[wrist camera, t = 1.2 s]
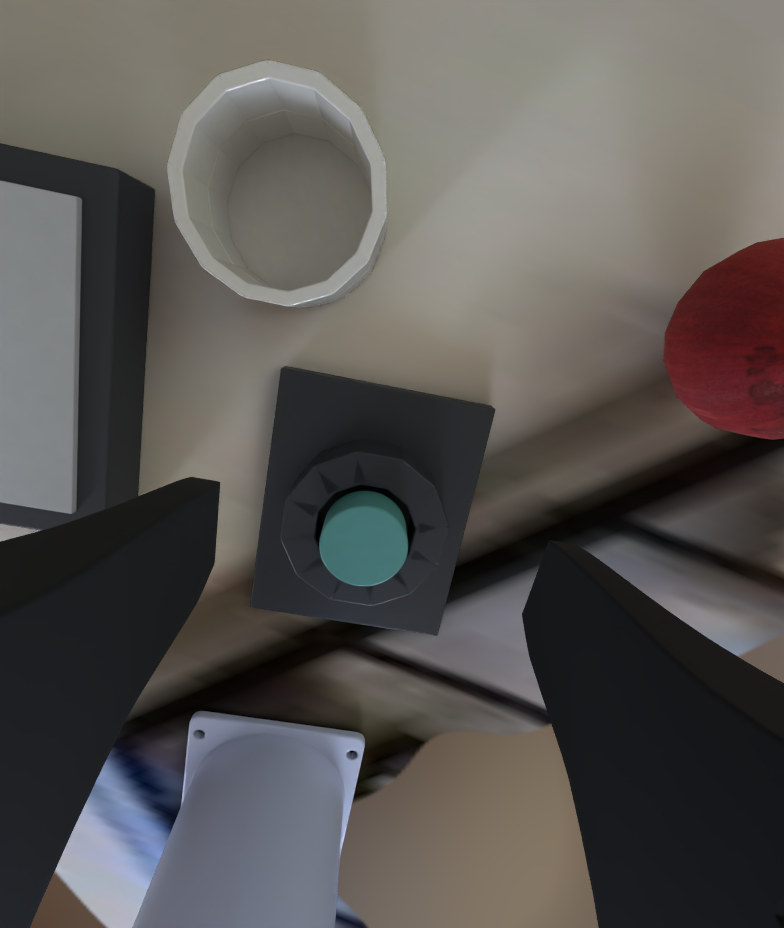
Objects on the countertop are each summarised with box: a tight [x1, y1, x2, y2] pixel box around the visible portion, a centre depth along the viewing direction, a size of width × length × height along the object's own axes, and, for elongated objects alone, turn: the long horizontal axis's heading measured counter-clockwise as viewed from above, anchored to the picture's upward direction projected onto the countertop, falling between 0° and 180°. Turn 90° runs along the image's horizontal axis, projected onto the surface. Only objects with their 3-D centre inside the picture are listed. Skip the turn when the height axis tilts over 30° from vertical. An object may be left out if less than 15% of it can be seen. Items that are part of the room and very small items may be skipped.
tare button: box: [319, 491, 408, 586], centre depth 18 cm, size 3×3×2 cm
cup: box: [167, 60, 387, 308], centre depth 15 cm, size 6×6×4 cm
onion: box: [664, 238, 784, 439], centre depth 15 cm, size 6×6×8 cm
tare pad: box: [250, 366, 495, 636], centre depth 19 cm, size 10×8×2 cm
